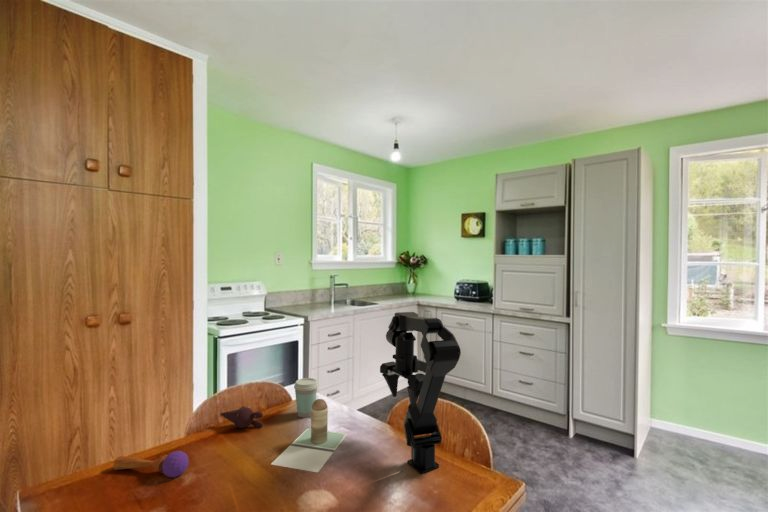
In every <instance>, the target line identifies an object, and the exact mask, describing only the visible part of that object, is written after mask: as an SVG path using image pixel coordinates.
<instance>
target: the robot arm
mask: <svg viewBox="0 0 768 512" xmlns="http://www.w3.org/2000/svg"><path fill="white" fill-rule="evenodd" d="M413 332H420V333H421V334H422V335H421V336H422V337H421V342H420V348H421V351H422V353H423V358H424V360H421V359H419V358H418V357H417V355H415V341H416V339H417V338H416V337H415V335H414V334H413ZM428 334H429V335H430V334H432V335H433V334H437V336H438V337H439V338H441V340H431V341H429V340H428V338H427V335H428ZM385 339H386V341H387V343H389V344H390V345H391V346H393V347H395V354H392V359H394V360H395V361H389V362H388V361H387V362H383V363H381V365H380V366H379V373H381V375H382V377H383V378H384V380H385V383H386V384H387V387H388V388H389V390H390V393H391V395H392V397H394V398H396V397H397V395H398V394H397V393H398V384H399V379H400V377H402V378H403V379H406V380H407V385H408V386H407V393H408V399H409V405H408V407H407V411H406V413H405V415H406V416H405V419H404V422H403V427H404V435H405V436H404V437H405V440H406V446H407V447H411V451H410V452H411V456H410V457H411V458H410V459H408V460H407V461H406V463H407V464H409V465H410V467H412V468H413V469H414V470H416V471H417V472H418V473H419V474H424V473H427V472H429V471H431V470H434V469H437V468H440V464H439V463H438V462H436V445H441V444H442V439H443V438H442V434H441V431H440V428H439V425H438V419H437V417H436V415H435V413H434V412H435V409H436V407H437V402H438V400H439V396H440V394H441V390H442V387H443V385H444V382H445V379H446V376H447V374H449V373H450V372H451V371H452V370H454V369H455V367H456V366H457V364H458V363H459V360H460V358H461V354H462V353H461V347H460V345H459V343H458V341H457V339H456V336H455V335H454V333H452V332H451V331H450V330H449V329H448V328H447V327H446V326H444V324H443V322H442V320H441V319H440V318H438V317H432V318H431V317H424V316H419V314H418V313H416V312H414V311H405V312H403V311H401V312H395V313H394V315H393V316H392V318H391V320H390V323H389V325H388V330H387V331H386V334H385ZM418 372H422V373H418ZM417 373H418V374H417ZM423 373H425V374H423Z"/></svg>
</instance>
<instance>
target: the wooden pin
mask: <svg viewBox="0 0 768 512" xmlns="http://www.w3.org/2000/svg"><path fill="white" fill-rule="evenodd" d="M328 409H329V407H328V404H327V402H326V400H324V399H322V398H318V399H317V398H316V400H315V401H314V402H313V404H312V407H311V417H310V429H311V442H312V443H314V444H322V443H325V442H326V441H327V431H328V418H329V417H328V414H329V413H328V412H329V411H328Z"/></svg>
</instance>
